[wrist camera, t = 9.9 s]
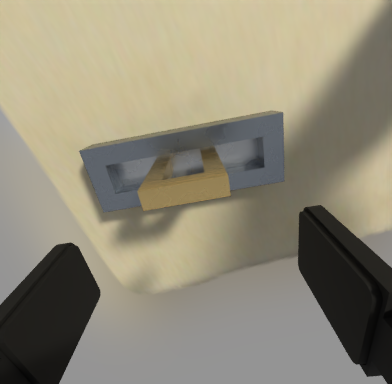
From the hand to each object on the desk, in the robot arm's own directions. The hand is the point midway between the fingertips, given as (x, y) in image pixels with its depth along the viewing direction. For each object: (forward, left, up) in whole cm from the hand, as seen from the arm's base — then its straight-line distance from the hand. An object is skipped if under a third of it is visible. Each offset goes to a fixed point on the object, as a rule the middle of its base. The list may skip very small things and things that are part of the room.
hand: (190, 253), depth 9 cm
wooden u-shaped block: (0, 0, -16) cm, 16 cm away
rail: (+1, 0, -17) cm, 17 cm away
